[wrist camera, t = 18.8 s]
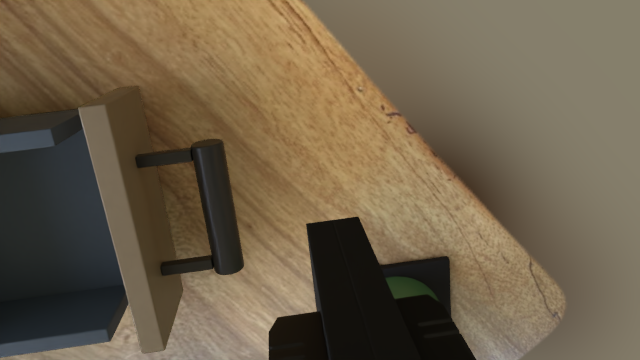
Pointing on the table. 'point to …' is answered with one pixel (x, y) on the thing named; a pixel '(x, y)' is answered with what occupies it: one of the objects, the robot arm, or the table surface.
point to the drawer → (98, 226)
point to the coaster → (426, 275)
